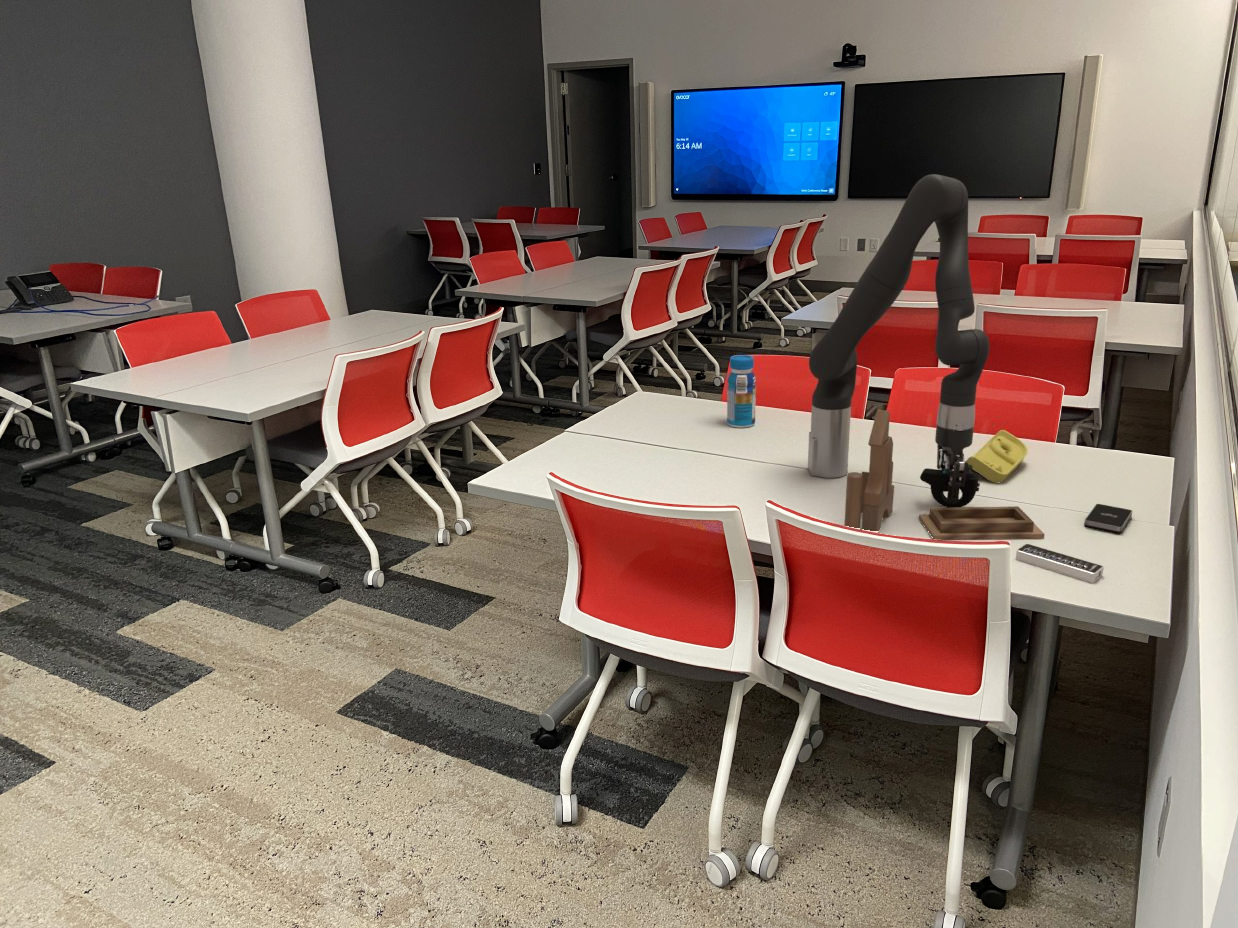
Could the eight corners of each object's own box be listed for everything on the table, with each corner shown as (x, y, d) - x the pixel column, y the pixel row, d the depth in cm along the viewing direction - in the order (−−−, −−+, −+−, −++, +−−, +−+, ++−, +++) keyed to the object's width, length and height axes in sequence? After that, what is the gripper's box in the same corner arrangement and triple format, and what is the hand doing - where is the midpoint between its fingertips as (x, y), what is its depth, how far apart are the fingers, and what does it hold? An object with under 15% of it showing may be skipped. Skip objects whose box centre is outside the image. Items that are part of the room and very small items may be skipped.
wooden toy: (862, 507, 197) (868, 399, 188) (892, 512, 194) (900, 402, 185) (842, 533, 184) (848, 418, 176) (874, 538, 181) (882, 422, 173)
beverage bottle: (720, 424, 258) (720, 357, 251) (739, 418, 263) (739, 352, 256) (743, 430, 252) (743, 362, 245) (761, 423, 257) (762, 356, 251)
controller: (975, 513, 191) (980, 470, 187) (916, 505, 196) (920, 463, 193) (978, 506, 194) (982, 464, 191) (919, 498, 200) (923, 457, 196)
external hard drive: (1131, 518, 186) (1133, 510, 186) (1120, 536, 178) (1121, 527, 178) (1095, 511, 190) (1096, 503, 190) (1082, 529, 182) (1084, 520, 182)
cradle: (933, 540, 179) (934, 526, 178) (918, 518, 190) (919, 505, 189) (1043, 538, 178) (1045, 524, 177) (1023, 516, 188) (1024, 503, 187)
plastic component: (1004, 477, 205) (967, 452, 208) (988, 499, 209) (952, 475, 213) (1033, 448, 218) (997, 425, 222) (1017, 470, 222) (982, 447, 226)
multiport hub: (1025, 553, 173) (1026, 542, 172) (1102, 577, 163) (1104, 565, 162) (1014, 560, 170) (1015, 549, 169) (1092, 585, 160) (1094, 573, 159)
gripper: (928, 413, 196) (922, 484, 201) (947, 433, 182) (940, 509, 188) (962, 412, 195) (955, 484, 201) (984, 432, 182) (976, 508, 187)
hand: (948, 495), depth 194 cm, fingers closed on controller, 5 cm apart
